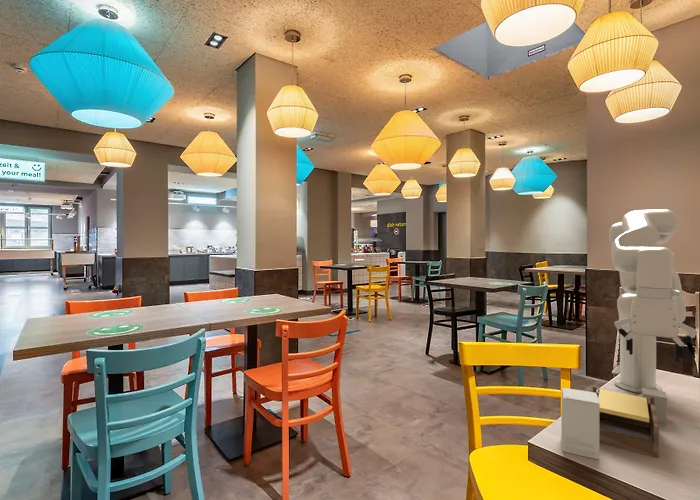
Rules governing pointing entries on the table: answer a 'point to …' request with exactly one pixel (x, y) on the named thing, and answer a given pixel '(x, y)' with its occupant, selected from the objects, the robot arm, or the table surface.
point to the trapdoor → (623, 405)
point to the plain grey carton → (657, 403)
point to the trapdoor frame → (628, 441)
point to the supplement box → (580, 423)
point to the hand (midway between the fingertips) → (653, 356)
